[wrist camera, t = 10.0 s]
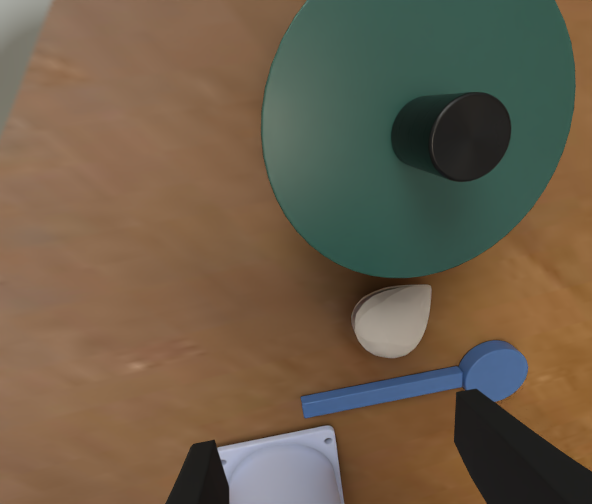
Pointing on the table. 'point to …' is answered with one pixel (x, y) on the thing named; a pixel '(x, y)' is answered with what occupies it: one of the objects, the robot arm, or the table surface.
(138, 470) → the table surface
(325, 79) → the saucepan lid
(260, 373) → the table surface
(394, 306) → the cream teardrop shape
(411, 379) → the blue spoon
